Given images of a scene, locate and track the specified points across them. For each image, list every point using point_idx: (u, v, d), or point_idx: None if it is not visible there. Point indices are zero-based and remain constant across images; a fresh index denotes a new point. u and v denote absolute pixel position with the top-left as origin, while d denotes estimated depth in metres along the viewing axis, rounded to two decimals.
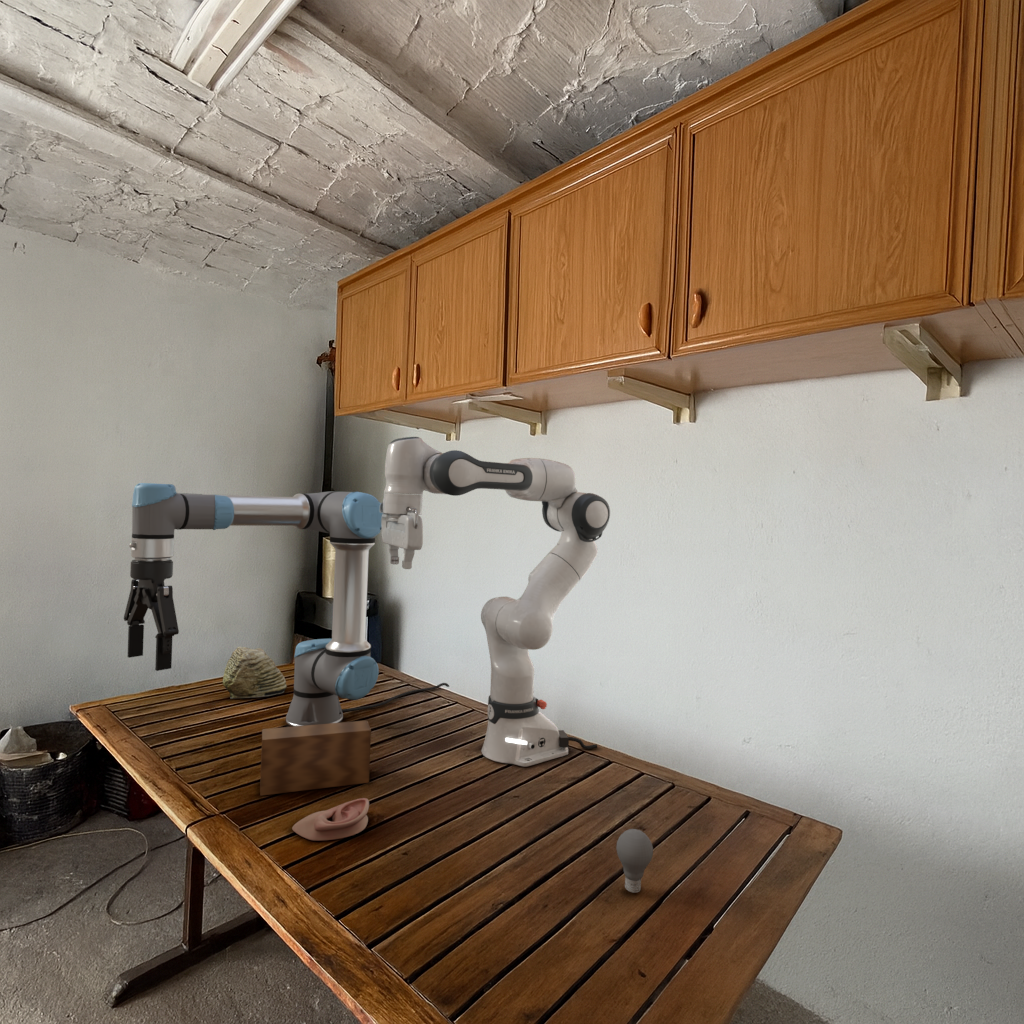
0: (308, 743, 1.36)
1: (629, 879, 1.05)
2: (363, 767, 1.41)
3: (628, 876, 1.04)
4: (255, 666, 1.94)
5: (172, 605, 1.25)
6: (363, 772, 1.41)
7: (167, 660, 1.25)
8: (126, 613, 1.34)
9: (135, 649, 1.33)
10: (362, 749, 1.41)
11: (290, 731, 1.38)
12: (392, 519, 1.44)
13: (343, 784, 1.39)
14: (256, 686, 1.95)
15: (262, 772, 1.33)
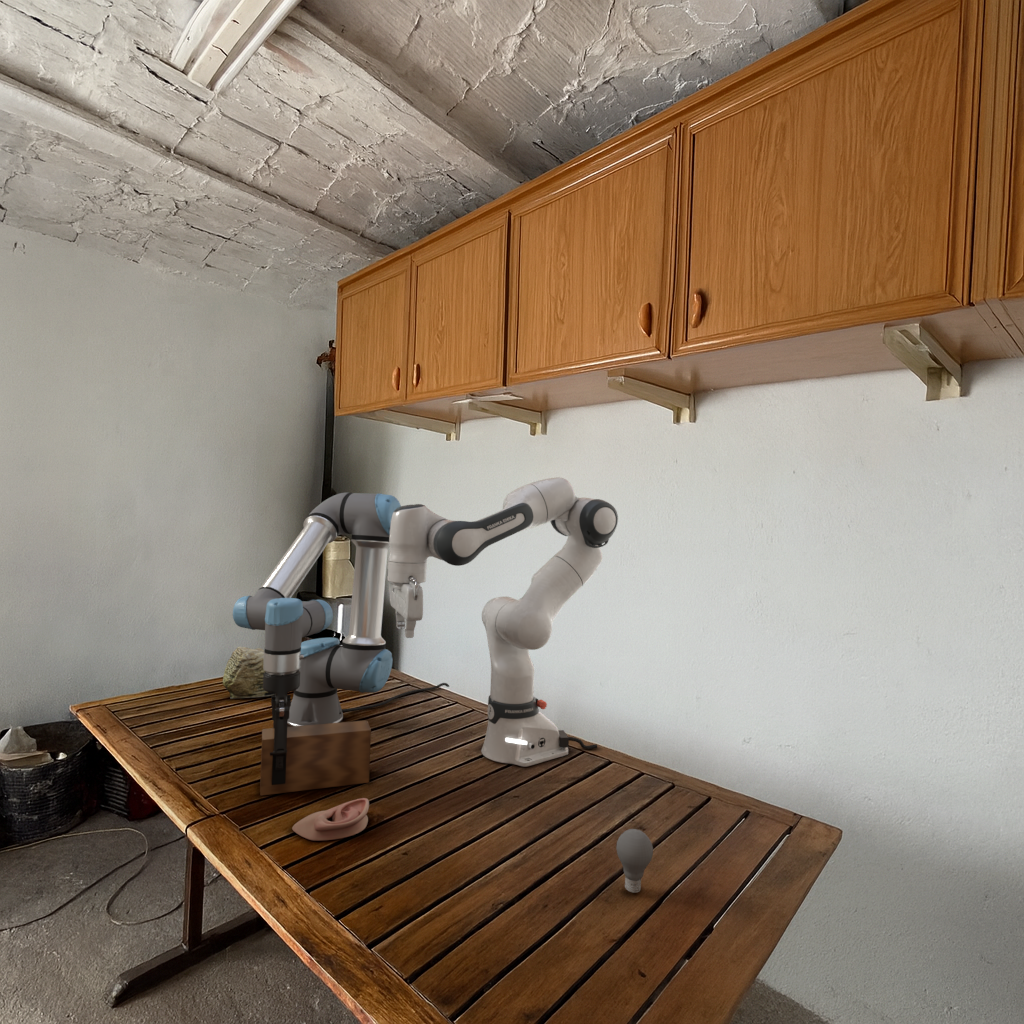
0: (308, 743, 1.36)
1: (629, 879, 1.05)
2: (363, 767, 1.41)
3: (628, 876, 1.04)
4: (255, 666, 1.94)
5: None
6: (363, 772, 1.41)
7: None
8: (286, 745, 1.32)
9: None
10: (362, 749, 1.41)
11: (290, 731, 1.38)
12: (395, 587, 1.45)
13: (343, 784, 1.39)
14: (256, 686, 1.95)
15: (262, 772, 1.33)
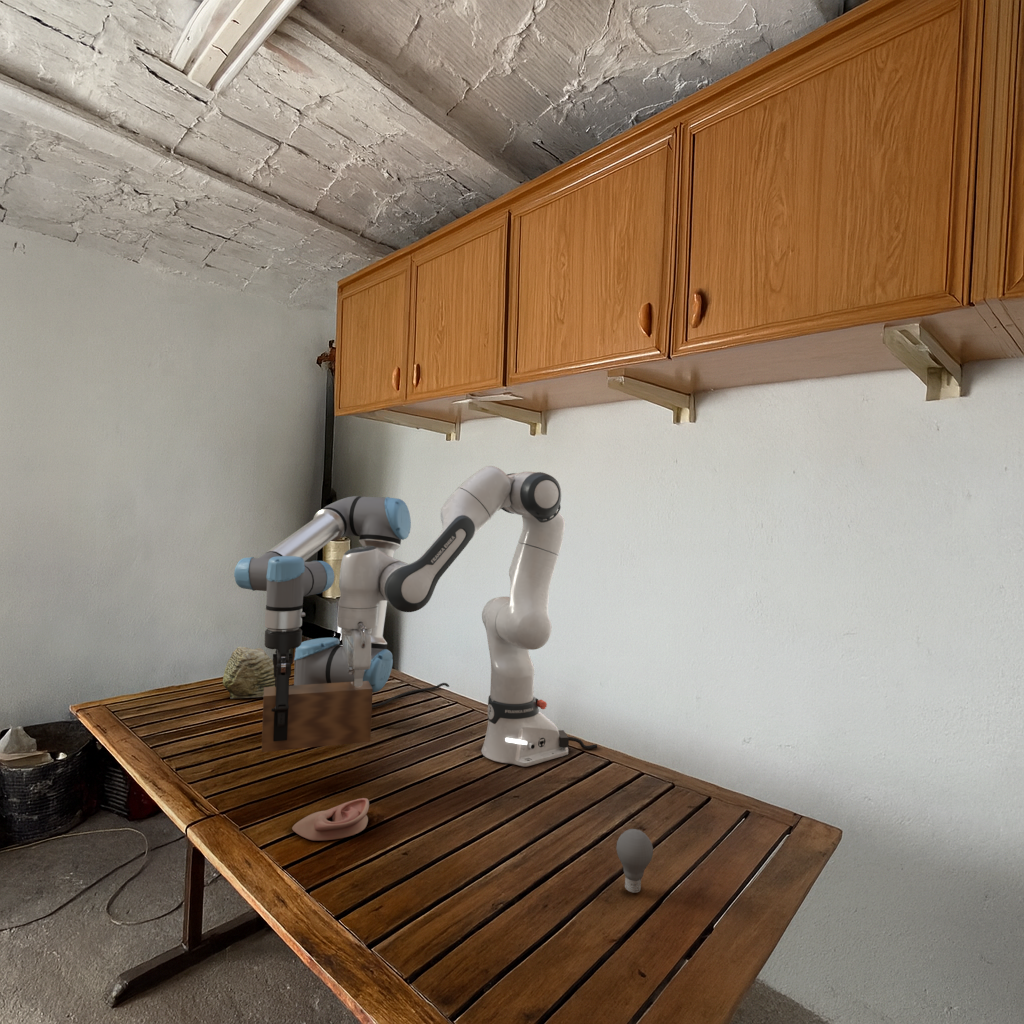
0: (310, 701, 1.36)
1: (629, 879, 1.05)
2: (364, 725, 1.41)
3: (628, 876, 1.04)
4: (255, 666, 1.94)
5: None
6: (365, 731, 1.41)
7: None
8: None
9: None
10: (364, 708, 1.40)
11: (291, 689, 1.38)
12: (345, 633, 1.40)
13: (345, 742, 1.39)
14: (256, 686, 1.95)
15: (264, 728, 1.33)
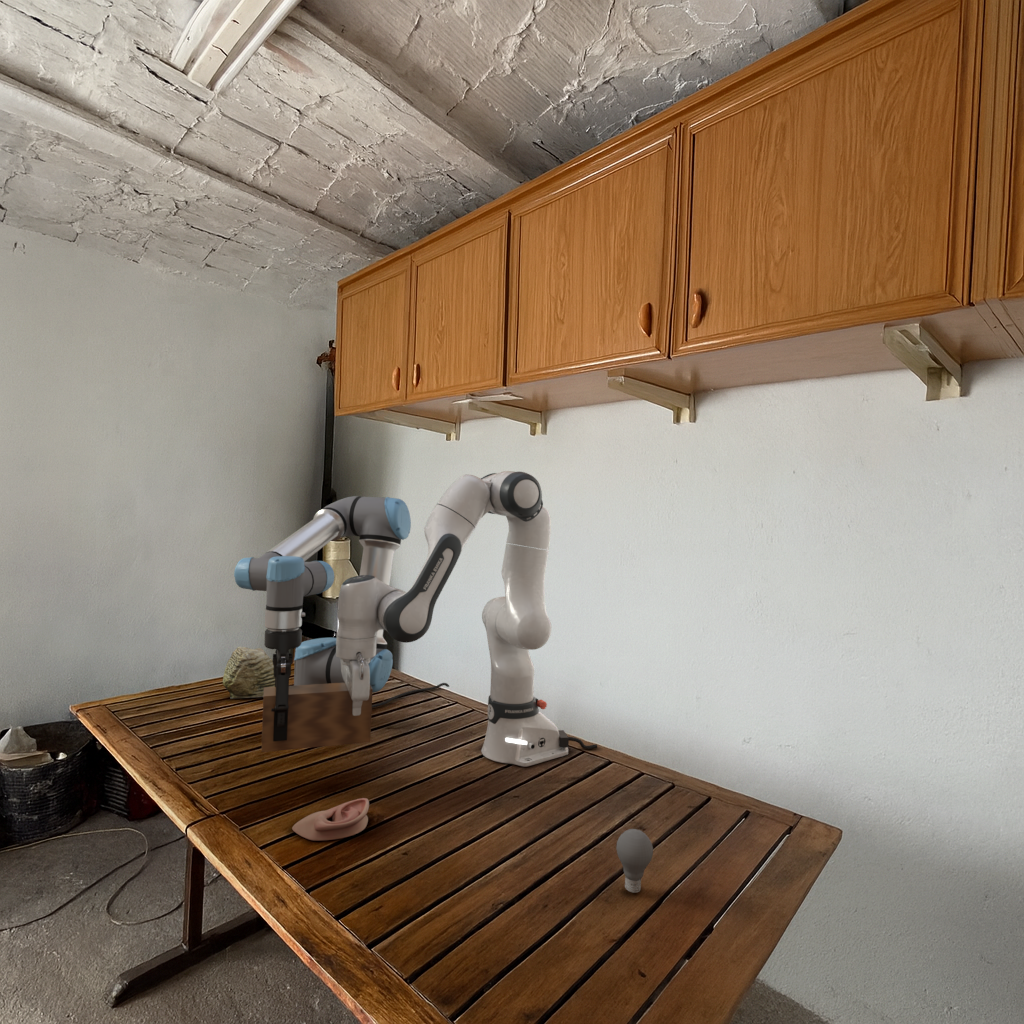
0: (310, 701, 1.36)
1: (629, 879, 1.05)
2: (364, 726, 1.41)
3: (628, 876, 1.04)
4: (255, 666, 1.94)
5: None
6: (365, 731, 1.41)
7: None
8: None
9: None
10: (364, 708, 1.40)
11: (291, 689, 1.38)
12: (343, 663, 1.40)
13: (344, 743, 1.39)
14: (256, 686, 1.95)
15: (263, 729, 1.33)
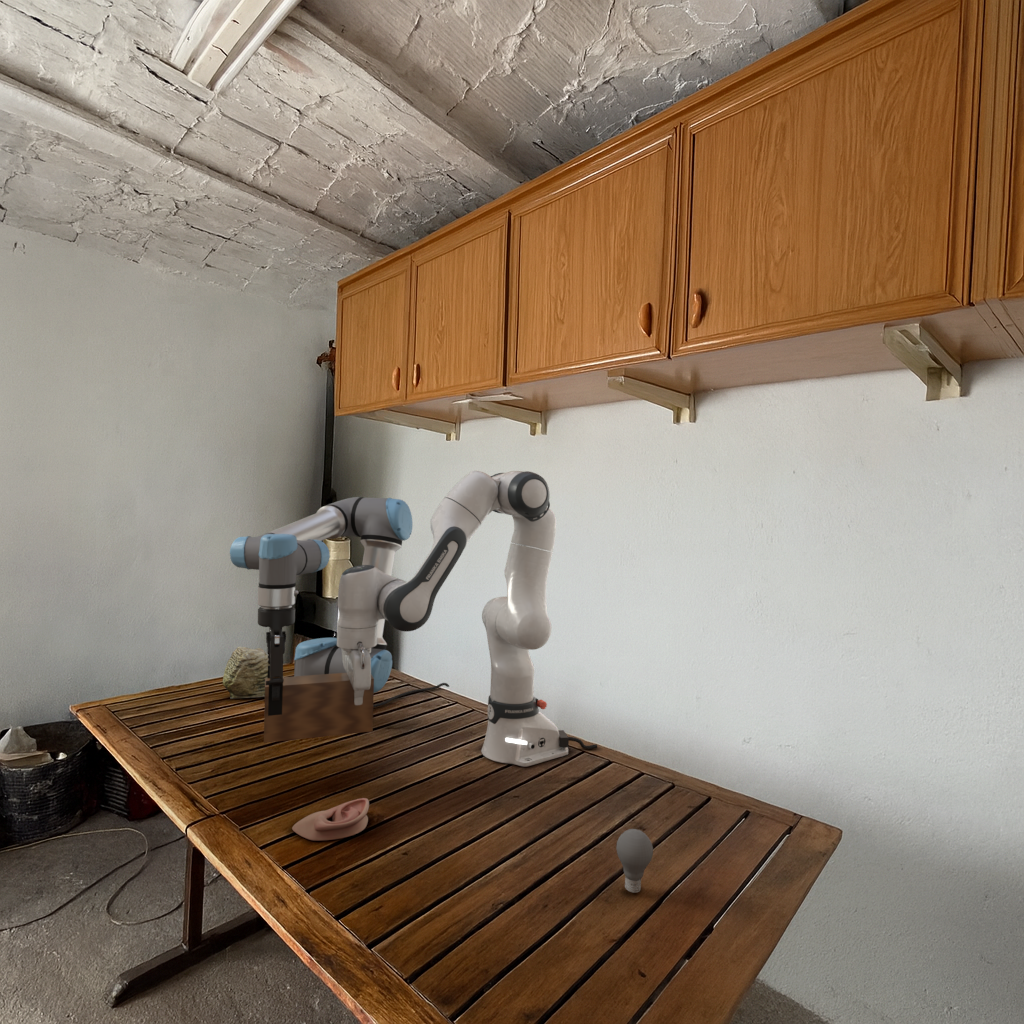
0: (311, 691, 1.36)
1: (629, 879, 1.05)
2: (366, 715, 1.41)
3: (628, 876, 1.04)
4: (255, 666, 1.94)
5: None
6: (367, 721, 1.41)
7: None
8: (282, 674, 1.29)
9: None
10: (365, 698, 1.40)
11: (293, 680, 1.38)
12: (344, 653, 1.40)
13: (347, 732, 1.39)
14: (256, 686, 1.95)
15: (265, 719, 1.33)
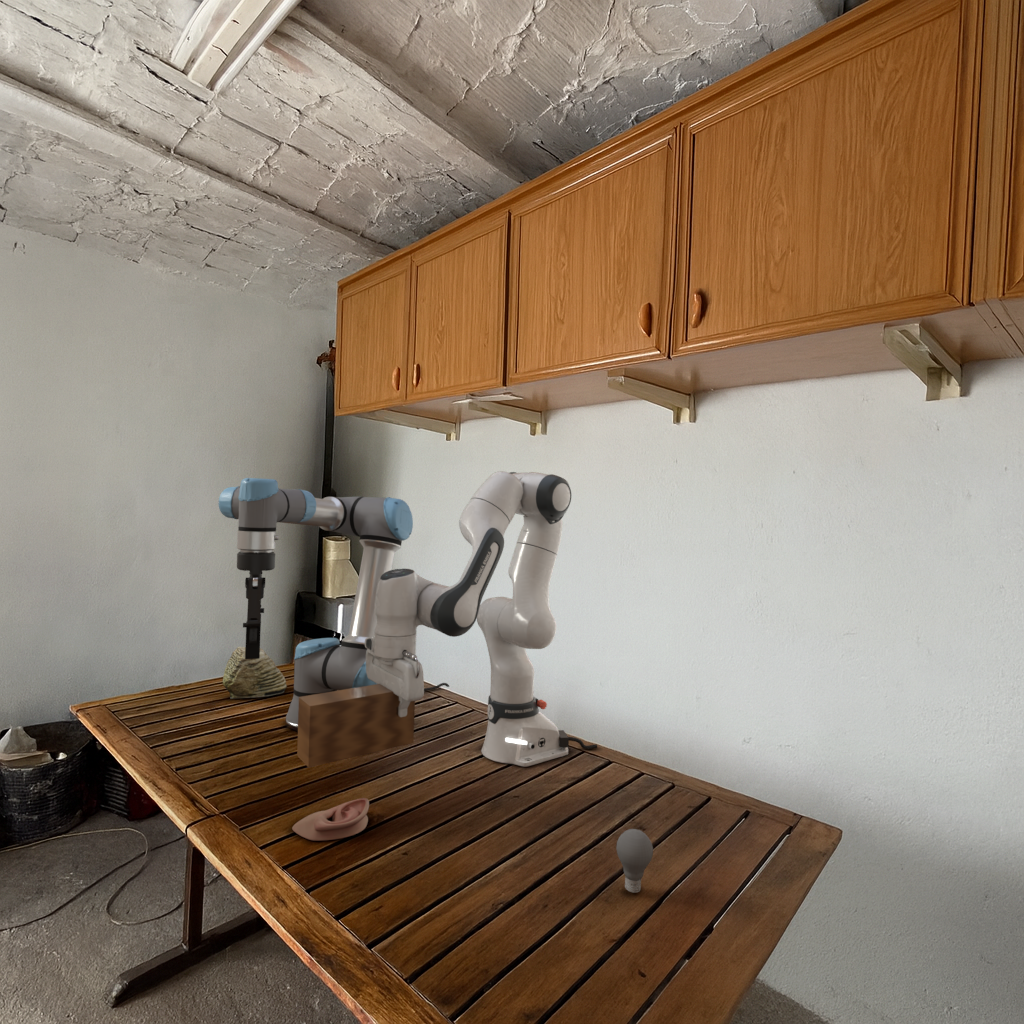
0: (356, 706, 1.26)
1: (629, 879, 1.05)
2: (408, 727, 1.34)
3: (628, 876, 1.04)
4: (255, 666, 1.94)
5: None
6: (408, 732, 1.34)
7: None
8: (260, 616, 1.26)
9: None
10: (407, 708, 1.33)
11: (331, 696, 1.27)
12: (385, 663, 1.32)
13: (389, 747, 1.31)
14: (256, 686, 1.95)
15: (310, 741, 1.21)
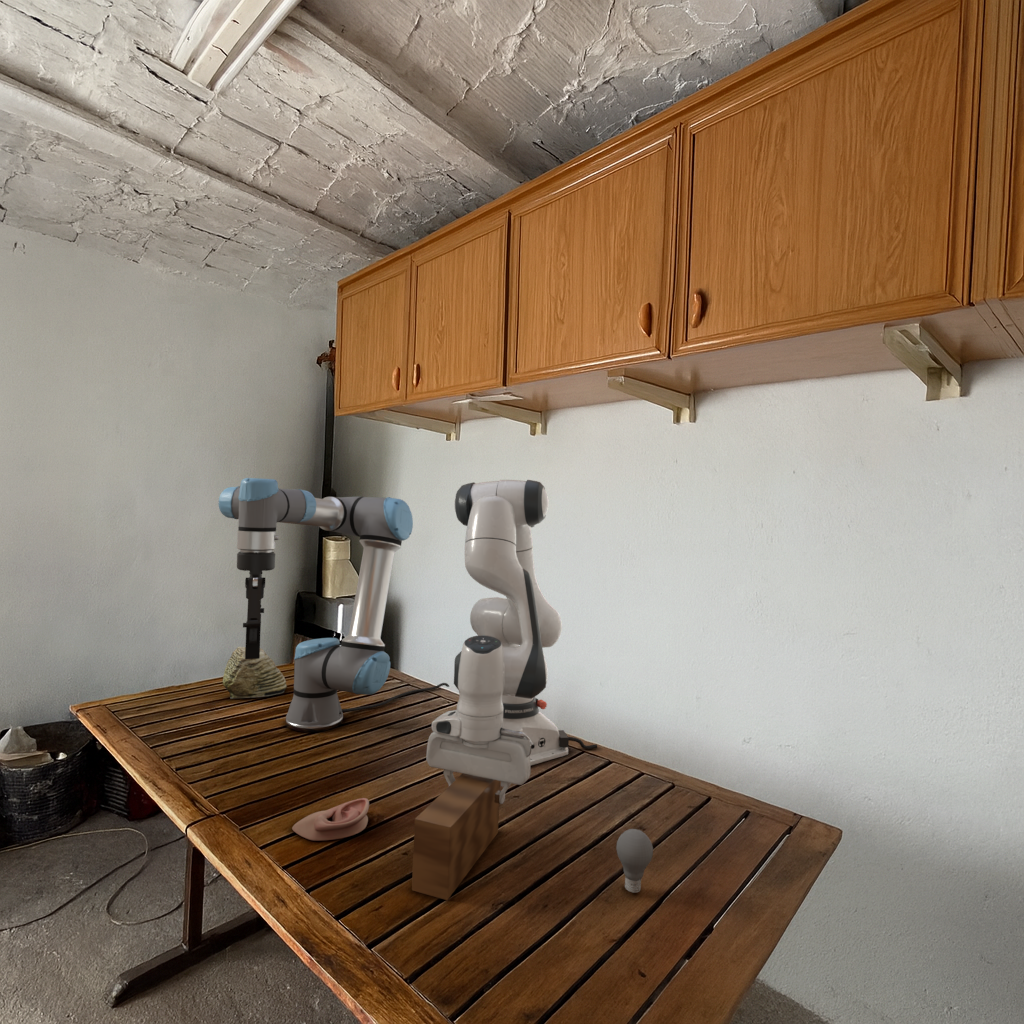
0: (473, 811, 1.10)
1: (629, 879, 1.05)
2: (496, 817, 1.21)
3: (628, 876, 1.04)
4: (255, 666, 1.94)
5: None
6: (496, 823, 1.21)
7: None
8: (260, 616, 1.26)
9: None
10: None
11: (445, 806, 1.08)
12: (480, 746, 1.16)
13: (487, 845, 1.17)
14: (256, 686, 1.95)
15: (449, 869, 1.01)
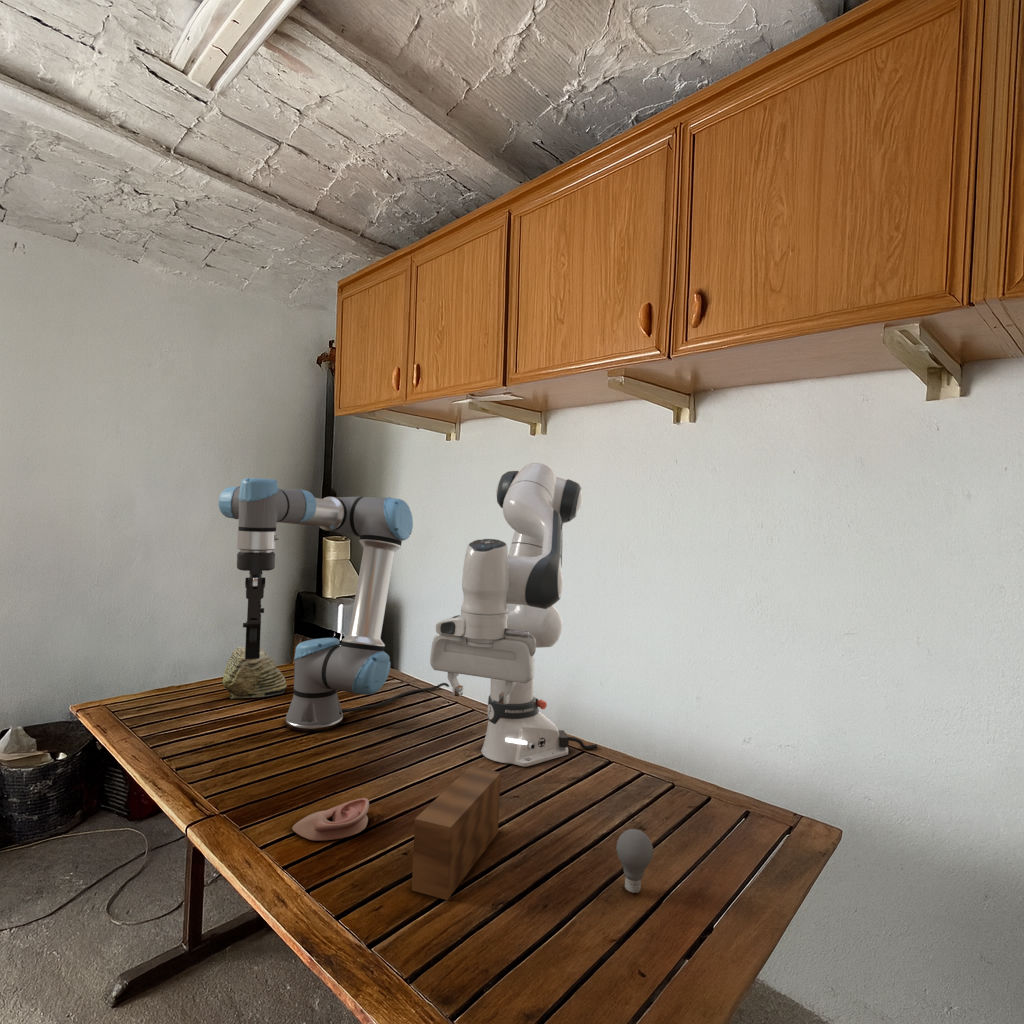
0: (473, 811, 1.10)
1: (629, 879, 1.05)
2: (496, 817, 1.21)
3: (628, 876, 1.04)
4: (255, 666, 1.94)
5: None
6: (496, 823, 1.21)
7: None
8: (260, 616, 1.26)
9: None
10: (496, 797, 1.21)
11: (445, 806, 1.08)
12: (484, 645, 1.16)
13: (487, 845, 1.17)
14: (256, 686, 1.95)
15: (449, 869, 1.01)
